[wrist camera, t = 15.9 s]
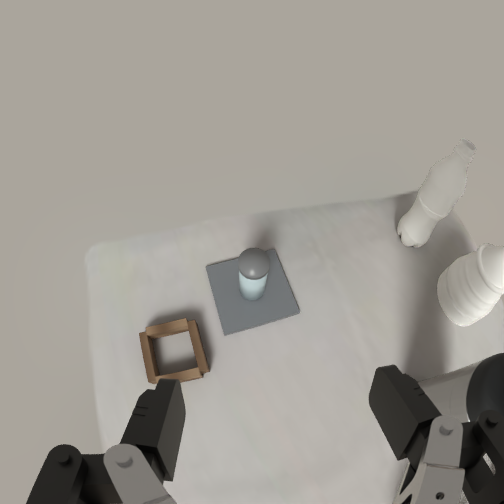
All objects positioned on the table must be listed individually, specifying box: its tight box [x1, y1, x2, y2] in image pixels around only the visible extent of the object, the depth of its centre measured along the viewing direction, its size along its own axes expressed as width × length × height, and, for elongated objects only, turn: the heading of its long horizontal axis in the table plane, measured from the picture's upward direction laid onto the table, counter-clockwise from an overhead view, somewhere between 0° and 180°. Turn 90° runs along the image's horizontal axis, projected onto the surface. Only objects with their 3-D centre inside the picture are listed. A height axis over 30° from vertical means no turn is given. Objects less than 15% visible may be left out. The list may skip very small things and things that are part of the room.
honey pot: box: [437, 243, 504, 326], centre depth 37 cm, size 13×13×18 cm
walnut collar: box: [139, 318, 210, 384], centre depth 38 cm, size 9×9×2 cm
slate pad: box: [206, 249, 300, 335], centre depth 45 cm, size 12×12×1 cm
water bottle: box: [397, 138, 476, 248], centre depth 41 cm, size 7×7×25 cm
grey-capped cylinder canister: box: [238, 248, 270, 301], centre depth 41 cm, size 4×4×8 cm
